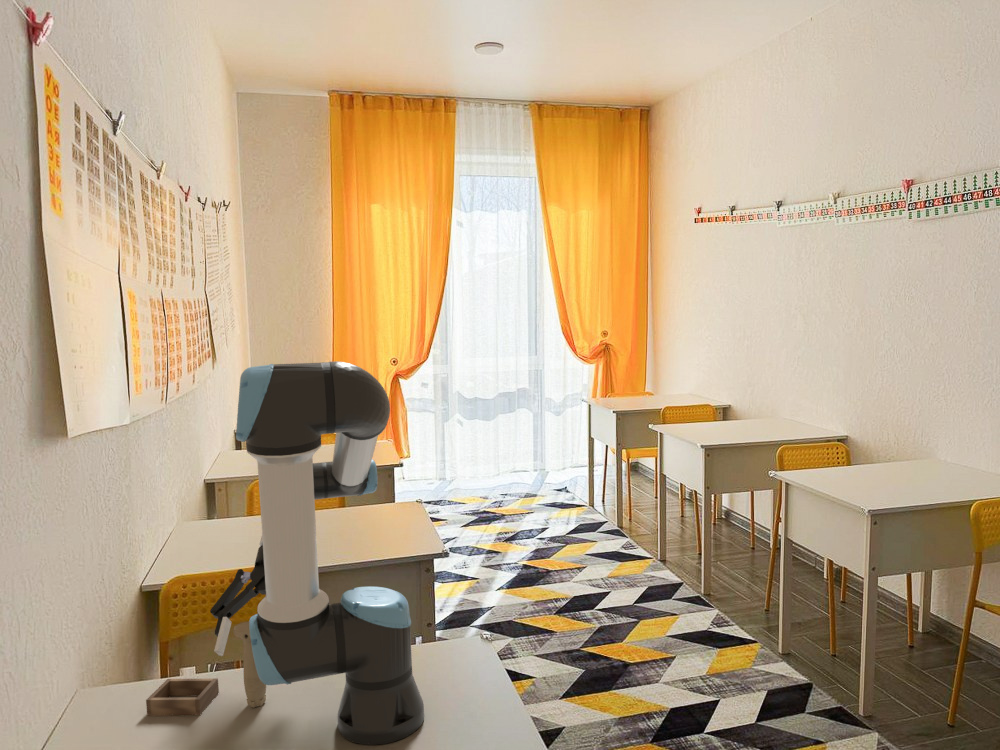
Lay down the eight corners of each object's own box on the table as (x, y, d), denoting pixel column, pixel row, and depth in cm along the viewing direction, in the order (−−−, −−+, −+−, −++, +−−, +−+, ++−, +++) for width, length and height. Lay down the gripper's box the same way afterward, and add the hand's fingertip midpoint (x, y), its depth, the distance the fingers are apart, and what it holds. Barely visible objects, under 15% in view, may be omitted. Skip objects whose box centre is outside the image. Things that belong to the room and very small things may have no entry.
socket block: (218, 693, 141) (217, 678, 141) (200, 715, 134) (199, 699, 133) (168, 693, 142) (167, 678, 142) (147, 715, 134) (146, 700, 134)
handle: (267, 711, 134) (262, 632, 133) (234, 710, 135) (229, 631, 134) (278, 697, 139) (273, 621, 138) (246, 696, 140) (241, 620, 139)
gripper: (341, 556, 153) (324, 659, 139) (225, 558, 155) (196, 660, 141) (332, 539, 147) (313, 645, 134) (212, 542, 149) (181, 646, 135)
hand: (253, 653), depth 137 cm, fingers open, 13 cm apart
